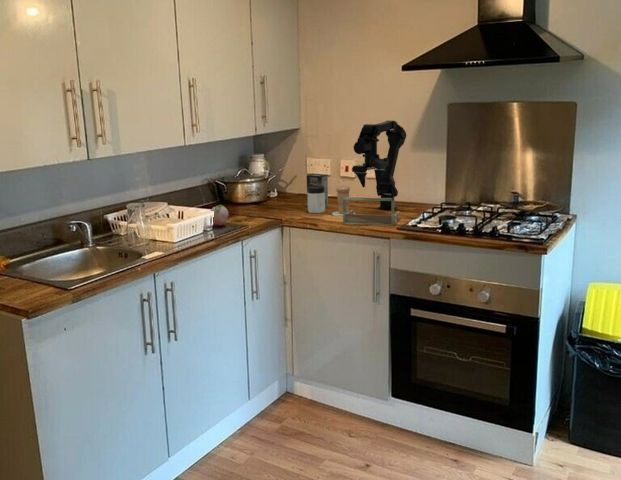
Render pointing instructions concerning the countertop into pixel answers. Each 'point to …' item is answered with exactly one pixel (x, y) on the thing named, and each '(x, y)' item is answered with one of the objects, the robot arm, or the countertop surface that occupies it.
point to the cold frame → (369, 218)
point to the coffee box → (318, 184)
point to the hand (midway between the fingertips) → (370, 186)
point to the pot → (340, 194)
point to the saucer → (337, 214)
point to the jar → (316, 199)
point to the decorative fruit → (220, 215)
